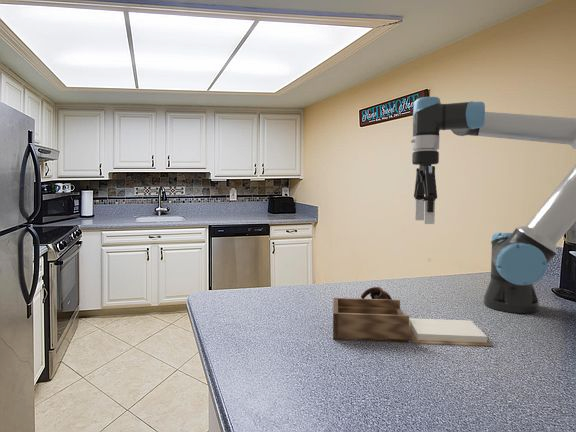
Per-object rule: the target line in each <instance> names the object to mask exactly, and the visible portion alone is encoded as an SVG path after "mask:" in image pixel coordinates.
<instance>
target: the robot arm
mask: <svg viewBox="0 0 576 432" xmlns="http://www.w3.org/2000/svg"><path fill="white" fill-rule="evenodd" d="M412 111H413V112H412V113H413V114H412V139H411V140H410V143H411V144H412V150H413V152H412V157H411V159H412V161H411V163H412V165H416V166H417V165H418V168H416V174H415V182H414V183H415V184H414V193H413V198H414V199H415V201H414V202H415V203H414V208H415V209H414V221H423V224H424V225H435V218H436V217H435V214H436V211H435V209H436V200H437V199H438V192H437V182H436V180H437V179H436V166H435V165H438V164H439V162H440V161H439V160H440V159H439V158H440V152H439V151H438V150H439V149H440V131H449V130H450V131H451V132H452V133H453V134H454V135H456V136H459V137H465V136H473V137H474V136H475V137H484V138H485V137H488V138H495V139H504V140H505V139H506V140H517V141H527V142H528V141H529V142H530V141H531V142H539V143H547V144H549V143H550V144H557V145H569V146H571V147H572V148H573V150H574V149H575V150H576V117H563V116H551V115H550V116H549V115H534V114H524V113H523V114H521V113H509V112H508V113H507V112H494V111H486V105H485V103H484V101H473V100H472V101H465V102H452V103H441V99H440V98H439V97H438V96H424V97H419V98H417V99H416V100H414V103H413V110H412ZM575 222H576V164H575V165H574V166H572V169H571V170H570V171H569V172H568V173H567V175H566V176H565V177H564V178H563V180H562V181H561V182H560V184H559V185H558V186H556V188H555V189H554V190H553V192H552V193H551V194H550V196H549V197H548V198H547V200H545V202H544V203H543V204H542V206H541V207H539V209H538V210H537V212H536V213H535V214H534V216H532V217H531V219H530V220H529V221H528V223H527V224H526V225H524V226H517V227H516V228H515V229H514V230H513V232H495V233H493V234H492V237H491V241H490V243H491V257H490V259H491V260H490V280H489V283H488V286H487V288H486V291H485V293H484V296H483V304H484V305H485V306H486V307H488V308H490V309H493V310H497V311H502V312H508V313H513V314H514V313H515V314H516V313H517V314H533V313H537V312H538V311H539V309H540V307H539V306H540V302H539V299H538V296H537V292H536V289H535V286H534V284H535V283H537V282H539V281H540V280H541V279H543V277H544V276H545V274H546V272H547V268H548V264H549V263H550V262H551V261H552V259H553V258H554V257H555V256H556V255H557V253H558V248H557V244H558V243H559V241H560V240H561V239H562V238H563V236H564V235H565V234H566V233H567V232H568V231H569V230H570V228H571V227H572V226H573V225H574V224H575Z"/></svg>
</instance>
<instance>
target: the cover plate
mask: <svg viewBox="0 0 576 432" xmlns="http://www.w3.org/2000/svg"><path fill="white" fill-rule="evenodd" d="M409 325H410V327H411V329H412V331H413V332H414V334H415V336H416V338H417V340H433V341H458V342H483V343H487V340H488V336H487V335H486V334H485V333H484V332H483V331H482V330H481V329H480V327H478V326H477V325H476V324H475V323H474V322H473V321H472V320H471V319H469V320H467V319H466V320H465V319H443V318H442V319H437V318H415V317H412V318H410V317H409Z"/></svg>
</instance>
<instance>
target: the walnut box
mask: <svg viewBox="0 0 576 432" xmlns="http://www.w3.org/2000/svg"><path fill="white" fill-rule="evenodd" d="M332 303H333V305H332V307H333V308H332V312H333V313H332V340H334V341H356V342H357V341H359V342H381V343H383V342H384V343H403V344H404V343H406V344H407V343H408V344H409V342H410V336H409V318H410V315H409V314H404V312H403V311H402V309H401V300H400V299H392V300H391V299H372V298H364V299H362V298H357V297H356V298H354V297H353V298H351V297H350V298H349V297H348V298H347V297H333V302H332Z"/></svg>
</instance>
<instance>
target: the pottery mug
mask: <svg viewBox="0 0 576 432" xmlns="http://www.w3.org/2000/svg"><path fill="white" fill-rule="evenodd" d="M368 295H369V296H370V299H391V300H393V299H392V297H391V295H390V294H389V293H388V292H387V291H385V290H383V288H381V286H380V287H379V286H373V287H370V288H367V289H366V290H364V291H363V293H361V295H360V299H366V297H368Z"/></svg>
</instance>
